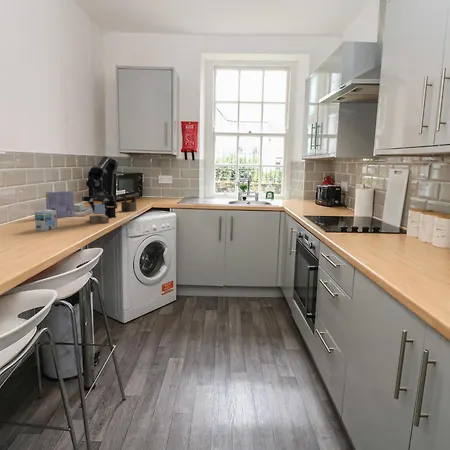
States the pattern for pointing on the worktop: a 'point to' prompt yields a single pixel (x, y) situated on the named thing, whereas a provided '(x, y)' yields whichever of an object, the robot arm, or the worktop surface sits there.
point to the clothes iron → (129, 203)
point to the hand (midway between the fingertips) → (98, 211)
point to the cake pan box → (61, 203)
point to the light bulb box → (46, 220)
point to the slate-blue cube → (99, 209)
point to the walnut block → (99, 219)
